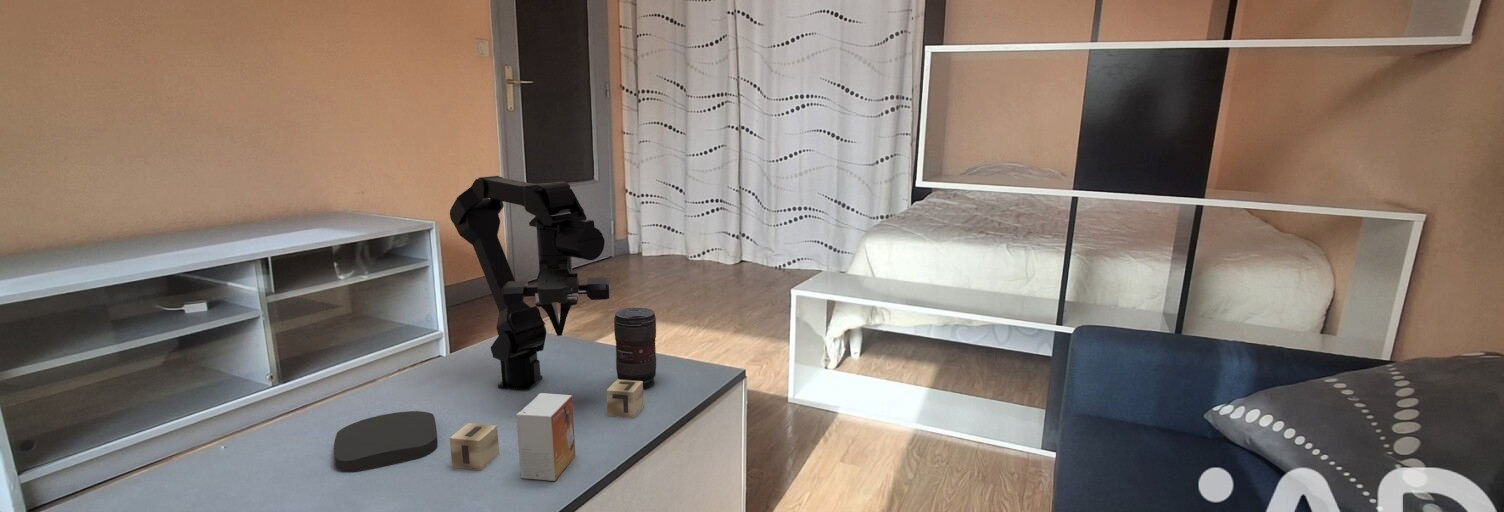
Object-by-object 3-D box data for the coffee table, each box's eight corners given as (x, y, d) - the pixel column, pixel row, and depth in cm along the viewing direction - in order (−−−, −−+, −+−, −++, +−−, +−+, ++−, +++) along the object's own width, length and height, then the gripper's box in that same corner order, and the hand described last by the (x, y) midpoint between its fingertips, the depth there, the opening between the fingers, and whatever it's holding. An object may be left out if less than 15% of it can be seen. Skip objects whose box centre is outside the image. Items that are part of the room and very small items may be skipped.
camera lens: (662, 388, 134) (660, 315, 131) (621, 394, 131) (618, 320, 128) (652, 373, 141) (649, 304, 138) (613, 379, 138) (609, 308, 135)
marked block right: (607, 416, 122) (606, 389, 121) (618, 404, 127) (616, 378, 126) (634, 418, 121) (633, 391, 120) (643, 406, 126) (642, 380, 125)
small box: (555, 482, 101) (550, 417, 99) (519, 479, 102) (514, 414, 99) (577, 455, 109) (573, 394, 106) (543, 452, 109) (539, 391, 107)
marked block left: (451, 468, 105) (448, 437, 104) (470, 451, 110) (468, 422, 109) (481, 471, 104) (478, 440, 103) (499, 454, 109) (496, 425, 108)
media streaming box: (333, 479, 102) (330, 461, 102) (339, 437, 115) (337, 421, 114) (440, 456, 109) (438, 439, 108) (434, 419, 121) (432, 404, 121)
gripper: (491, 265, 113) (499, 353, 116) (606, 260, 116) (610, 347, 119) (503, 250, 123) (509, 332, 127) (608, 247, 127) (611, 327, 130)
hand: (559, 335), depth 126 cm, fingers closed
